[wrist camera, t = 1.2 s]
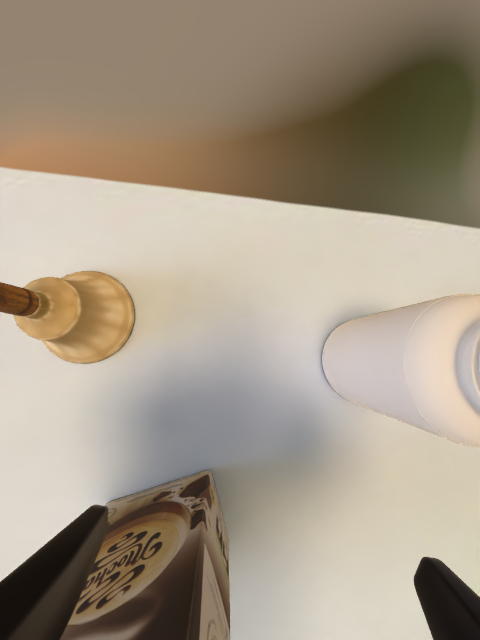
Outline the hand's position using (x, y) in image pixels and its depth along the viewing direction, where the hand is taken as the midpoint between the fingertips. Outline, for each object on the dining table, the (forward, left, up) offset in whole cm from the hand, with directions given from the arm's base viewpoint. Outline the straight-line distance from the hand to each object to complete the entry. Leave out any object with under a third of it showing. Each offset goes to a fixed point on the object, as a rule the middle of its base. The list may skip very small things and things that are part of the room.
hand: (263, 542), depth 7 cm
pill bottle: (+10, -8, -16) cm, 20 cm away
